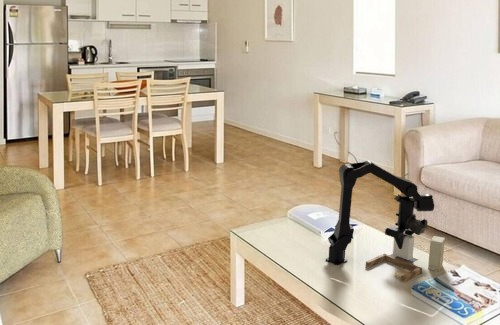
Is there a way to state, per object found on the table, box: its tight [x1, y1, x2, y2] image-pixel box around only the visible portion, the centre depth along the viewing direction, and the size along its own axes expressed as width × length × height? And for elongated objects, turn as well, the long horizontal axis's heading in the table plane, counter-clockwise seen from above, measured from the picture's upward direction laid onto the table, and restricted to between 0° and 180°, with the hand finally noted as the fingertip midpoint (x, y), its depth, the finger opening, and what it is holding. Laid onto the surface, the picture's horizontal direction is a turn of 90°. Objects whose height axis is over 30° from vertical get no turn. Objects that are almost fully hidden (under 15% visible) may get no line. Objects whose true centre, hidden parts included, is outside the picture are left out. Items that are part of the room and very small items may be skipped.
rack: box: [365, 253, 423, 283], centre depth 197 cm, size 12×17×2 cm
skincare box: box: [427, 235, 446, 272], centre depth 199 cm, size 6×4×12 cm
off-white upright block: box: [392, 234, 415, 260], centre depth 206 cm, size 4×7×9 cm, turn 40°
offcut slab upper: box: [394, 268, 411, 279], centre depth 193 cm, size 6×4×1 cm, turn 133°
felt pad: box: [388, 253, 419, 264], centre depth 208 cm, size 8×10×1 cm
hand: (402, 247), depth 207 cm, fingers closed on off-white upright block, 3 cm apart
